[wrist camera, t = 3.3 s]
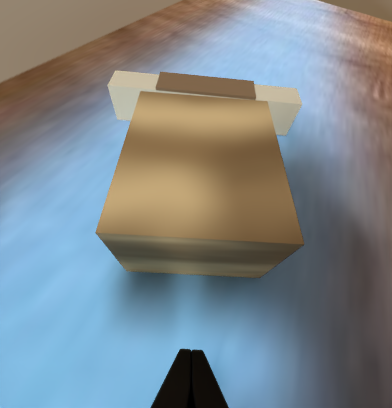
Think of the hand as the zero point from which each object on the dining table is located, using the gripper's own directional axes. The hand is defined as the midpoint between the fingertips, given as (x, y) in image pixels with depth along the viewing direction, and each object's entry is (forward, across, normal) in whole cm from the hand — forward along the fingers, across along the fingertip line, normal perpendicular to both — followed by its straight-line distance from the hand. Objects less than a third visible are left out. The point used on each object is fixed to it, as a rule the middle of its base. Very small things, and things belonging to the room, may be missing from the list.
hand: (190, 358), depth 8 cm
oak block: (+12, 0, -3) cm, 13 cm away
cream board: (+21, 0, -12) cm, 24 cm away
